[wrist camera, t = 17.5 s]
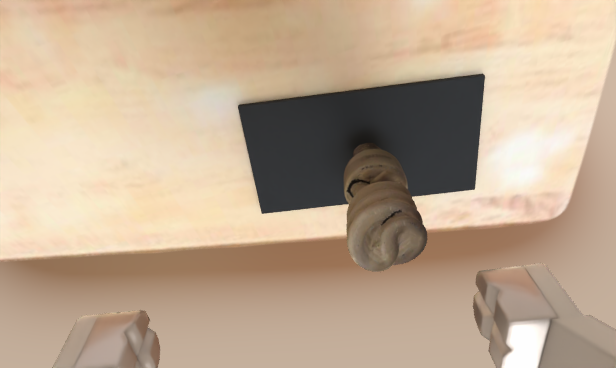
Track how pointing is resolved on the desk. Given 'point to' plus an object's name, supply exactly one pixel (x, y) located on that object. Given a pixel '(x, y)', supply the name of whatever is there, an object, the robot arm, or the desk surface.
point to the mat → (364, 139)
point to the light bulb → (380, 211)
